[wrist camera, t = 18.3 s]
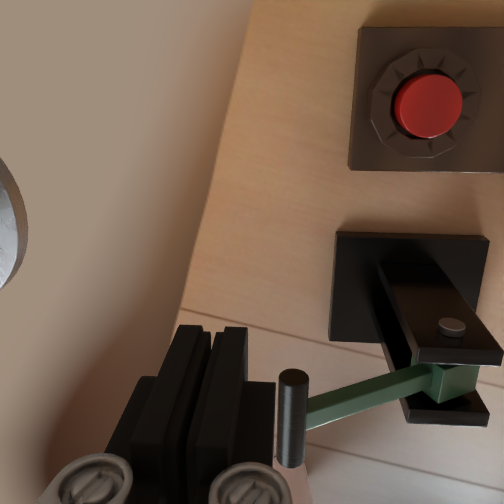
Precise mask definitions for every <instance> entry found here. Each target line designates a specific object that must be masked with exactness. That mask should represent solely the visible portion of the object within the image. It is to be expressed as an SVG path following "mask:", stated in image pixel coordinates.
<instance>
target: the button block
mask: <svg viewBox="0 0 504 504" xmlns="http://www.w3.org/2000/svg"><path fill="white" fill-rule="evenodd" d="M423 74H436V75H443V76H446V77H448V78H450V79H451V80H452V81H454V82H455V83H456V85H457V86H458V87H459V89H460V92H461V95H462V109H461V113H460V116H459V118H458V120H457V121H456V123H455V124H454V125H453V126H452V127H451V128H450V129H449V130H448V131H447V132H445V133H443V134H441V135H439V136H436V137H432V138H422V137H418V136H416V135H414V134H412V133H410V132H408V131H406V130H405V129H404V128H402V127H401V126H400V124H399V123H398V121H397V119H396V116H395V111H394V104H395V99H396V96H397V94H398V92H399V90H400V89H401V88H402V86H403V85H404V84H405V83H406V82H407V81H409V80H410V79H412V78H414V77H416V76H419V75H423ZM348 167H349V169H350V170H358V171H406V172H454V173H502V174H504V27H362V28H360V29H359V30H358V39H357V52H356V64H355V77H354V90H353V102H352V115H351V127H350V140H349V153H348Z"/></svg>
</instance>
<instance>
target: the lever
mask: <svg viewBox="0 0 504 504" xmlns="http://www.w3.org/2000/svg"><path fill="white" fill-rule="evenodd" d="M479 368H480V366H475V365H453V364H431V363H417V362H416V360H415V358H414V356H413V354H412V359H411V366H410V367H406V368H403V369H400V370H397V371H394V372H390V373H387V374H384V375H381V376H378V377H374V378H371V379H368V380H365V381H362V382H358V383H355V384H352V385H349V386H346V387H343V388H339V389H336V390H333V391H330V392H327V393H323V394H320V395H317V396H314V397H311V398H308V390H309V377H308V375H307V374H306V373H305V372H304V371H302V370H299V369H286V370H284V371H282V372H281V373H280V375H279V383H278V414H277V445H276V459H277V461H278V463H279V464H280V465H281V466H283V467H285V468H289V469H294V468H297V467H299V466H301V465H302V464H303V462H304V457H305V440H306V430H309V429H312V428H315V427H318V426H321V425H324V424H327V423H330V422H333V421H335V420H338V419H341V418H344V417H347V416H350V415H353V414H356V413H359V412H362V411H365V410H367V409H370V408H373V407H376V406H379V405H382V404H385V403H388V402H391V401H394V400H397V399H399V398H402V397H405V396H408V395H411V394H414V393H417V392H420V391H423V392H424V393H426V394H427V395H428V396H429V397H431V398H432V399H433V400H434V401H436V402H437V403H442V402H444V401H447V400H450V399H453V398H455V397H458V396H461V395H464V394H466V393H469V392H472V391H474V390H475V387H476V382H477V377H478V372H479Z"/></svg>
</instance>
